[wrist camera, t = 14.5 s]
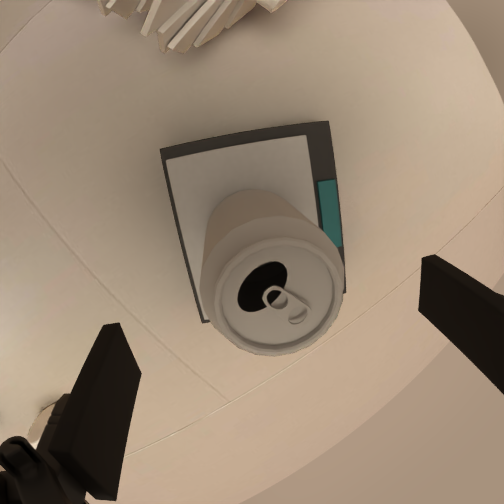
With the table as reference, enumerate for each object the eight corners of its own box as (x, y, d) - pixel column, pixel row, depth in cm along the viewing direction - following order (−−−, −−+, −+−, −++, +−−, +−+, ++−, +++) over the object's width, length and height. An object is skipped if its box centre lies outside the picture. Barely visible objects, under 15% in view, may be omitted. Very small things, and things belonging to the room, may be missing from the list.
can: (245, 167, 24) (270, 187, 13) (316, 225, 26) (385, 286, 15) (186, 243, 25) (166, 320, 14) (259, 293, 28) (287, 388, 16)
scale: (165, 148, 27) (156, 149, 23) (318, 122, 27) (333, 119, 23) (202, 308, 32) (201, 330, 28) (336, 280, 33) (351, 298, 29)
